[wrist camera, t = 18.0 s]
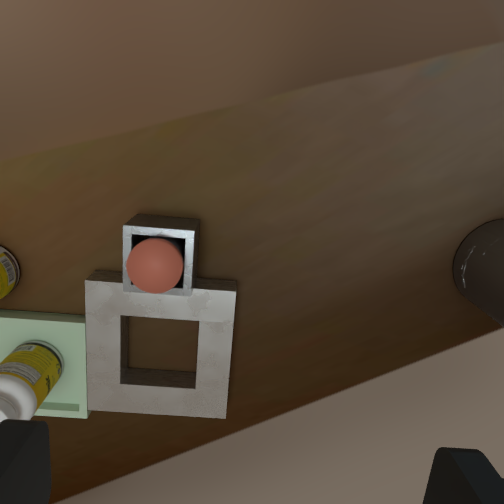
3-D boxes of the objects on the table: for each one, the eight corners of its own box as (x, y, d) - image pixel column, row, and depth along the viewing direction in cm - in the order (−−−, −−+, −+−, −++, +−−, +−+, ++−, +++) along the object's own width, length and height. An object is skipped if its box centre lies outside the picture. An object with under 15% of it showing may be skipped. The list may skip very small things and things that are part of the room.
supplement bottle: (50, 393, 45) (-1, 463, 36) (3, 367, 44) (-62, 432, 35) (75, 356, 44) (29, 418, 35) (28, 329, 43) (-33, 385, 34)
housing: (241, 222, 41) (241, 235, 36) (226, 400, 47) (224, 431, 42) (95, 210, 41) (74, 221, 36) (97, 392, 46) (80, 422, 41)
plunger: (191, 228, 40) (183, 243, 35) (188, 274, 41) (180, 295, 36) (142, 224, 40) (126, 238, 35) (141, 270, 41) (126, 291, 36)
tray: (91, 315, 44) (85, 323, 42) (93, 407, 47) (87, 418, 45) (-19, 307, 43) (-30, 315, 41) (-10, 401, 46) (-20, 411, 44)
